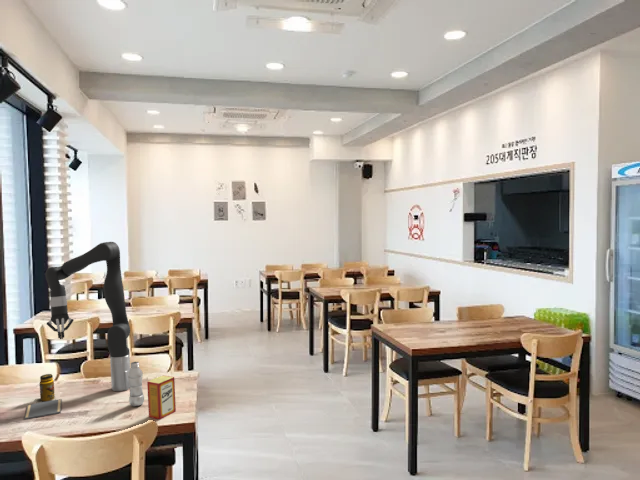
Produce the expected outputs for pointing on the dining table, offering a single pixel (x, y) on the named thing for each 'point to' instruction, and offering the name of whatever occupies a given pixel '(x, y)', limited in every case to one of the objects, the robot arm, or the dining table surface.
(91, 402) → the dining table surface
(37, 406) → the mat
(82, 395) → the dining table surface
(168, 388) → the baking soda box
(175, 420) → the dining table surface
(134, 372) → the plastic bottle
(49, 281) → the robot arm
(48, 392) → the condiment
